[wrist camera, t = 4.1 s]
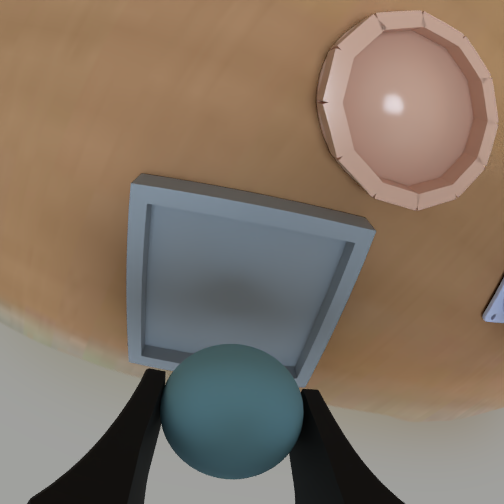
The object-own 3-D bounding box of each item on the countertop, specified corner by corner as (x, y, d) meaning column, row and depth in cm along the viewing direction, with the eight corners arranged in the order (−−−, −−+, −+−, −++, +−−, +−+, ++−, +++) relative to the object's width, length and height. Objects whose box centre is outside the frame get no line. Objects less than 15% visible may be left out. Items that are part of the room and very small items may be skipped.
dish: (492, 65, 11) (511, 66, 10) (449, 215, 16) (464, 227, 14) (340, -12, 10) (350, -22, 9) (294, 171, 14) (300, 181, 13)
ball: (313, 327, 12) (342, 443, 7) (272, 403, 14) (280, 498, 10) (179, 301, 11) (152, 424, 7) (165, 386, 13) (148, 485, 9)
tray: (365, 217, 16) (376, 230, 14) (301, 369, 21) (304, 387, 19) (141, 173, 14) (130, 183, 13) (135, 344, 19) (129, 361, 18)
